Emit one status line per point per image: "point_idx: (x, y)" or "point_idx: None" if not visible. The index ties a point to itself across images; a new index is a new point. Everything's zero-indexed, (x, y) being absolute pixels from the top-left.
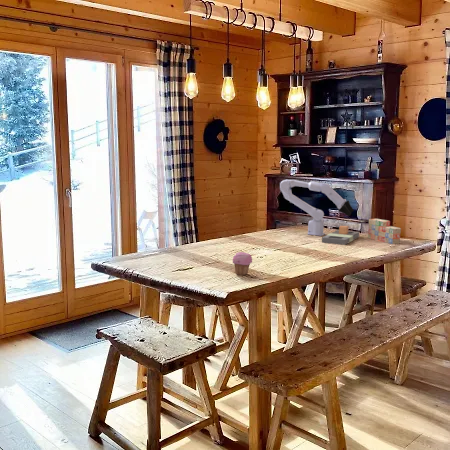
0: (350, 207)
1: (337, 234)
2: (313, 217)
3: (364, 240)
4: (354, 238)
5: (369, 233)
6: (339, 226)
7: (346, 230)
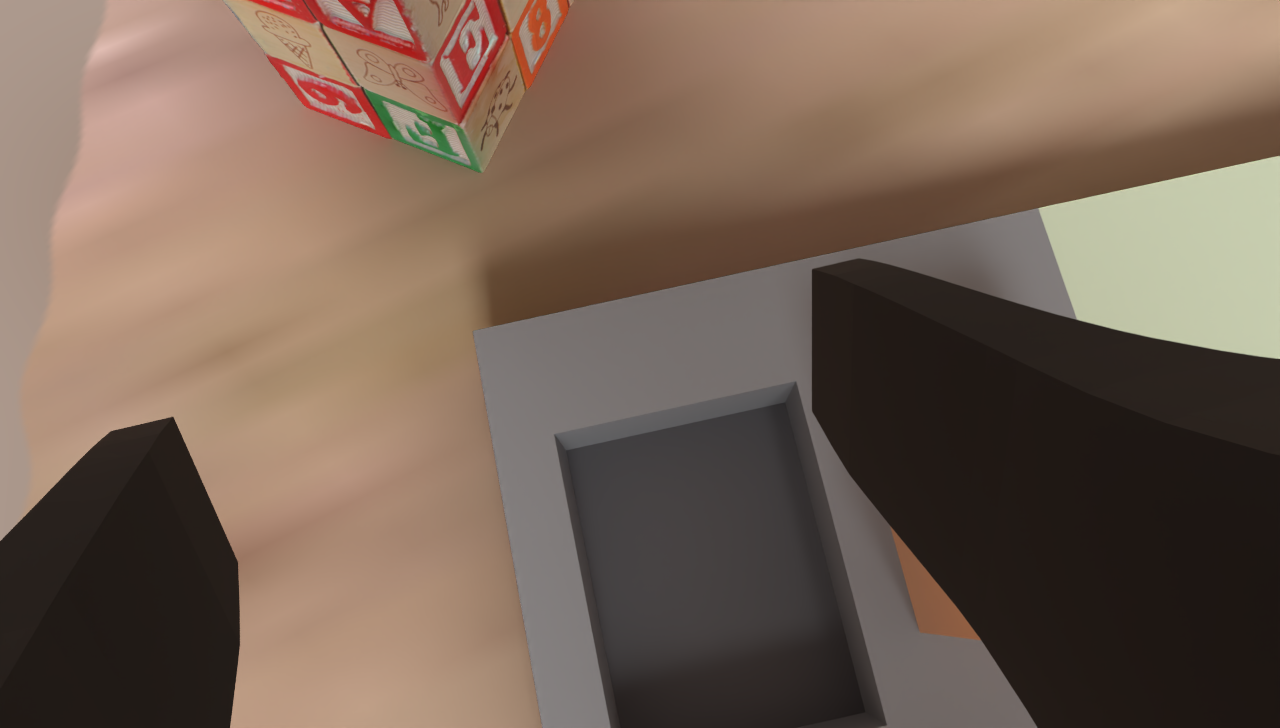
0: (101, 617)
1: None
2: None
3: (808, 94)
4: None
5: (477, 87)
6: None
7: None
